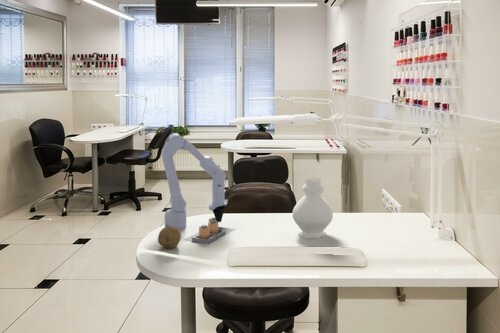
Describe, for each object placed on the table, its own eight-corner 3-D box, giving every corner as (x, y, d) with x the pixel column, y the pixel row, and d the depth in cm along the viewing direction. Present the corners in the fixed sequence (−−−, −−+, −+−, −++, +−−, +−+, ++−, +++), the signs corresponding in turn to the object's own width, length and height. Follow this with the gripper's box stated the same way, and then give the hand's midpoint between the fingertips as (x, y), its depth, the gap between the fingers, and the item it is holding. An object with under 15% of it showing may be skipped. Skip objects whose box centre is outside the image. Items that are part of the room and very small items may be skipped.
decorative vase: (330, 241, 226) (332, 184, 222) (289, 238, 230) (290, 182, 225) (333, 229, 243) (335, 176, 239) (295, 227, 247) (296, 175, 242)
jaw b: (206, 235, 229) (206, 222, 228) (210, 232, 233) (210, 219, 232) (215, 236, 228) (215, 223, 227) (220, 233, 232) (219, 220, 231)
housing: (183, 242, 223) (183, 235, 223) (211, 228, 245) (211, 221, 244) (208, 246, 218) (208, 239, 218) (235, 231, 239) (235, 224, 239)
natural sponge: (167, 255, 208) (166, 230, 206) (153, 250, 214) (153, 226, 212) (185, 249, 214) (184, 226, 212) (171, 245, 220) (170, 222, 218)
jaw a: (197, 240, 222) (197, 226, 221) (202, 237, 226) (202, 224, 225) (206, 242, 220) (206, 227, 219) (211, 239, 224) (211, 225, 223)
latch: (208, 227, 242) (208, 219, 241) (212, 225, 244) (212, 217, 244) (212, 228, 241) (212, 219, 240) (215, 226, 244) (215, 218, 243)
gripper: (218, 197, 237) (218, 226, 240) (233, 191, 250) (233, 219, 253) (204, 195, 240) (205, 224, 243) (220, 189, 253) (220, 217, 256)
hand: (218, 221), depth 248 cm, fingers closed
